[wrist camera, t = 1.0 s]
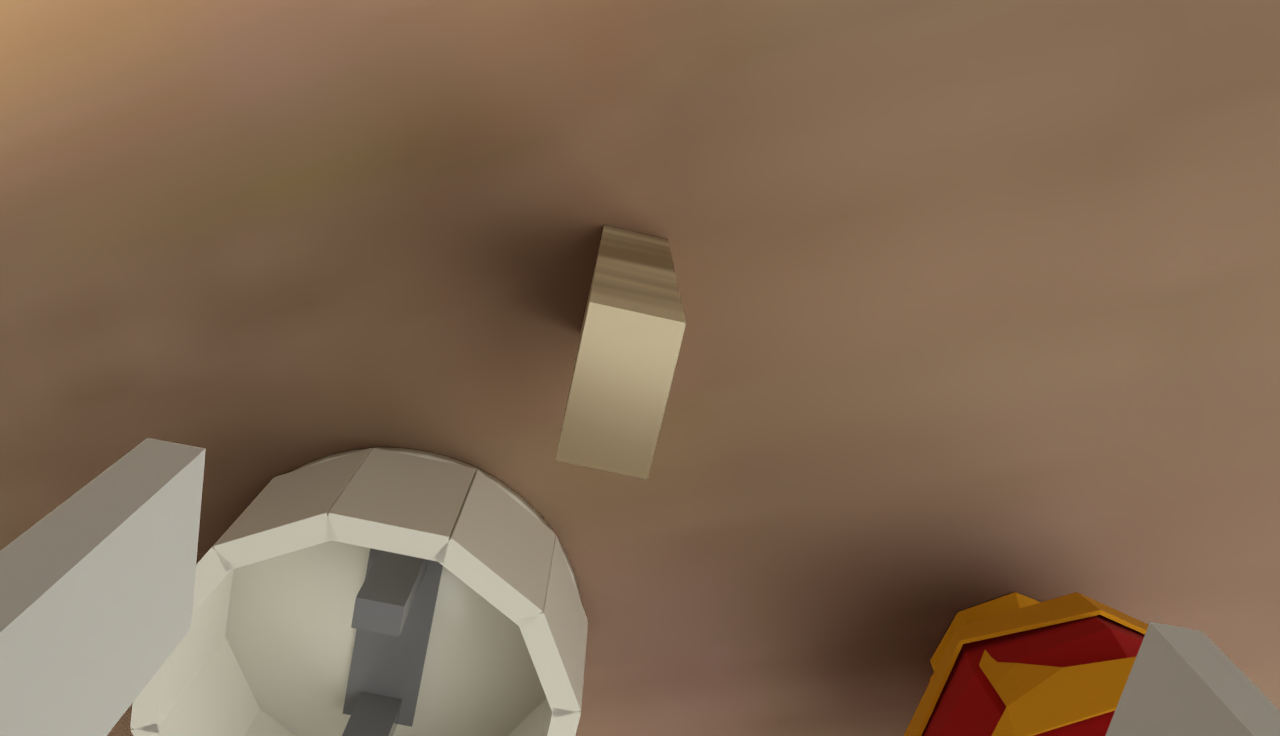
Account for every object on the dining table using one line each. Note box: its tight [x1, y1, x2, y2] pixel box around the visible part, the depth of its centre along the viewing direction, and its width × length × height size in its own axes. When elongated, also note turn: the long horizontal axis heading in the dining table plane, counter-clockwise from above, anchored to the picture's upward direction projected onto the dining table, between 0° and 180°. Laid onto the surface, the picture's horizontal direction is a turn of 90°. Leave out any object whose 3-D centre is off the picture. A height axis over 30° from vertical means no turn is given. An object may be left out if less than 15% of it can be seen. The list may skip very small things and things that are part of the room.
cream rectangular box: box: [555, 225, 686, 480], centre depth 26 cm, size 4×2×11 cm, turn 167°
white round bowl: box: [130, 447, 588, 736], centre depth 32 cm, size 13×13×6 cm
